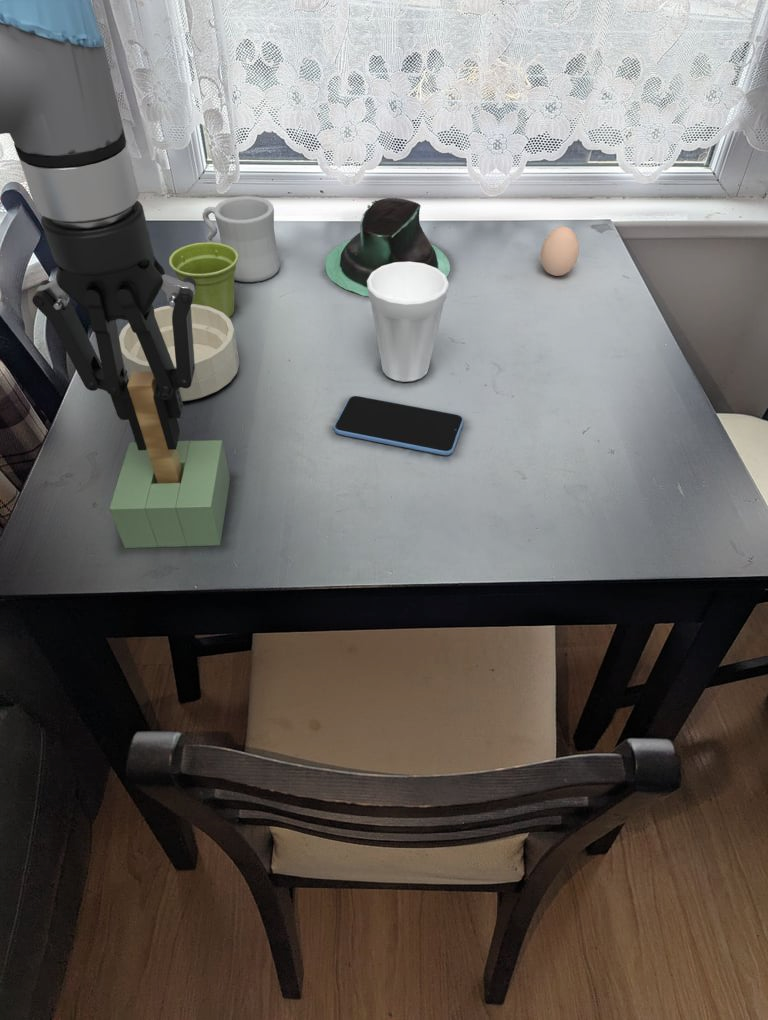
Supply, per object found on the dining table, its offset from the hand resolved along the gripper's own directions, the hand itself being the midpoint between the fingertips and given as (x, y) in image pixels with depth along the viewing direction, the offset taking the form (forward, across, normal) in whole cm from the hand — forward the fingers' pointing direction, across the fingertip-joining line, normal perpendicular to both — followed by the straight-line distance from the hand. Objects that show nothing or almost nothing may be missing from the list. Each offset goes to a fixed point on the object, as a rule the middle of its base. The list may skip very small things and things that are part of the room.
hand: (159, 440), depth 72 cm
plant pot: (+11, +1, -40) cm, 42 cm away
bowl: (+10, +3, -26) cm, 28 cm away
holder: (+10, 0, 0) cm, 10 cm away
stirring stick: (+10, 0, 0) cm, 10 cm away
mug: (+11, -2, -54) cm, 55 cm away
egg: (+11, -52, -50) cm, 73 cm away
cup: (+11, -26, -25) cm, 38 cm away
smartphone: (+11, -25, -13) cm, 30 cm away
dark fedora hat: (+11, -25, -54) cm, 60 cm away
